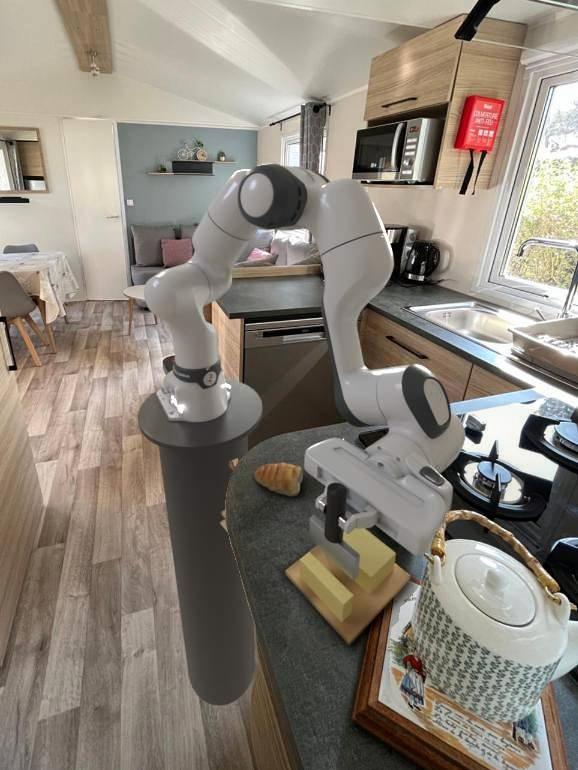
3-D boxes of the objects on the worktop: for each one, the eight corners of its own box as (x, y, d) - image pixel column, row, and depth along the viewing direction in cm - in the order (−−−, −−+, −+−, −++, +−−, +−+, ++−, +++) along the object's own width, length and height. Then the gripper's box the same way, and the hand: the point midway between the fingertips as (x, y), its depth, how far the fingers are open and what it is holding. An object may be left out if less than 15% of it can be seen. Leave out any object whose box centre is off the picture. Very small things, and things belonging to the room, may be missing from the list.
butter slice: (299, 576, 56) (299, 559, 55) (308, 568, 58) (309, 551, 56) (342, 622, 50) (343, 604, 49) (351, 613, 51) (353, 595, 50)
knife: (304, 541, 55) (307, 476, 51) (316, 532, 57) (320, 467, 52) (349, 584, 49) (356, 515, 45) (361, 573, 51) (369, 504, 46)
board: (284, 574, 58) (285, 570, 57) (344, 525, 65) (345, 522, 65) (349, 645, 49) (349, 641, 48) (409, 579, 56) (410, 575, 56)
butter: (325, 554, 60) (326, 537, 58) (350, 533, 63) (351, 517, 62) (369, 595, 54) (371, 577, 52) (393, 570, 57) (396, 553, 56)
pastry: (250, 490, 73) (250, 474, 72) (258, 466, 80) (258, 451, 78) (299, 499, 71) (299, 483, 70) (303, 474, 77) (304, 459, 76)
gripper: (339, 419, 64) (277, 454, 56) (466, 493, 48) (405, 555, 41) (336, 450, 66) (277, 487, 59) (457, 530, 51) (398, 595, 43)
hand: (330, 516), depth 50 cm, fingers closed on knife, 2 cm apart
